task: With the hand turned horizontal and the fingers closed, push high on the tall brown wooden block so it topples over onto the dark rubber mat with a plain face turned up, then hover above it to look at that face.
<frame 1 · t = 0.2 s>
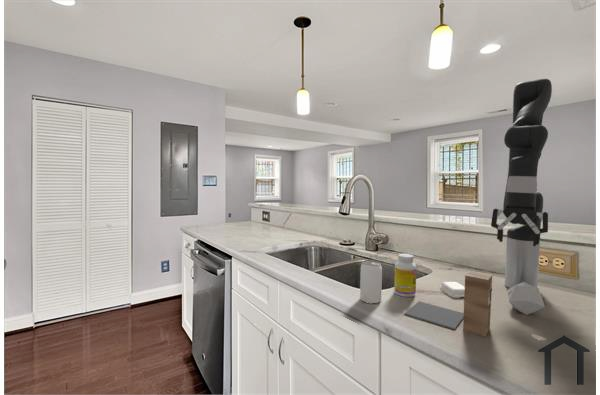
hand: (517, 243, 95), 18 cm above the worktop, tool pointing down, fingers open, 8 cm apart
die: (524, 311, 88), on the worktop
can: (370, 300, 96), on the worktop
supplement bottle: (404, 294, 101), on the worktop
brown wooden block: (476, 329, 78), on the worktop
mat: (435, 314, 86), on the worktop
soap: (454, 294, 102), on the worktop
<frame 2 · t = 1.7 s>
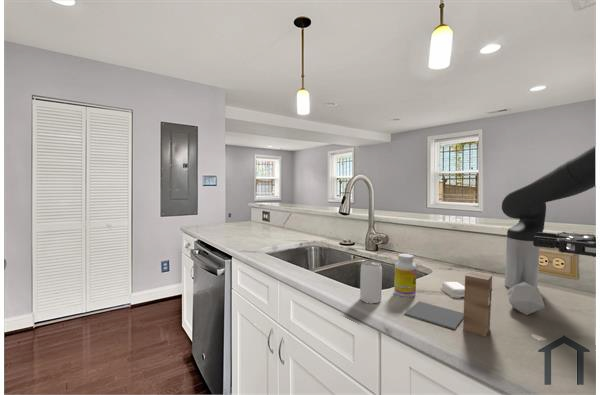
hand: (535, 238, 71), 24 cm above the worktop, tool horizontal, fingers open, 6 cm apart
nothing on the worktop moved.
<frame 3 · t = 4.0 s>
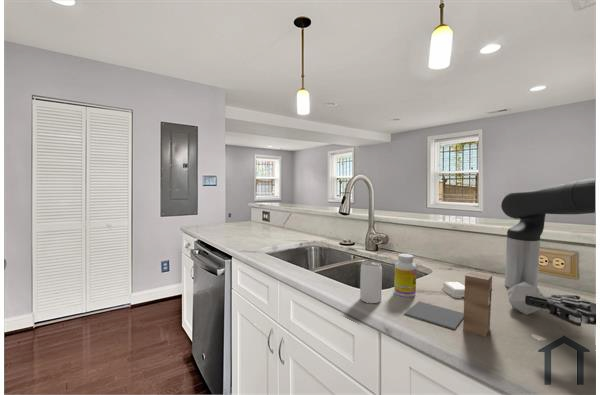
hand: (525, 298, 71), 10 cm above the worktop, tool horizontal, fingers closed
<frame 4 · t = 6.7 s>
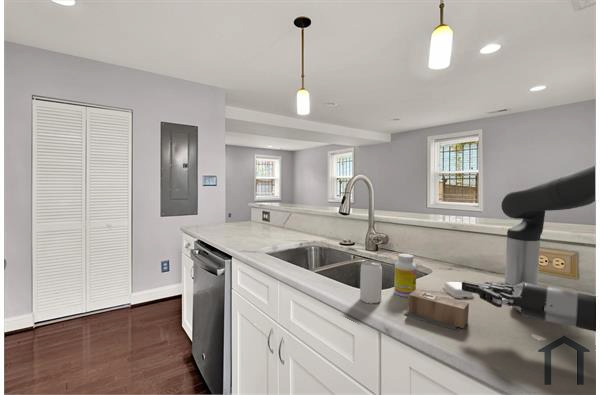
hand: (462, 285, 79), 10 cm above the worktop, tool horizontal, fingers closed
brown wooden block: (466, 315, 79), point 3 cm above the worktop, tilted 90°, touching mat
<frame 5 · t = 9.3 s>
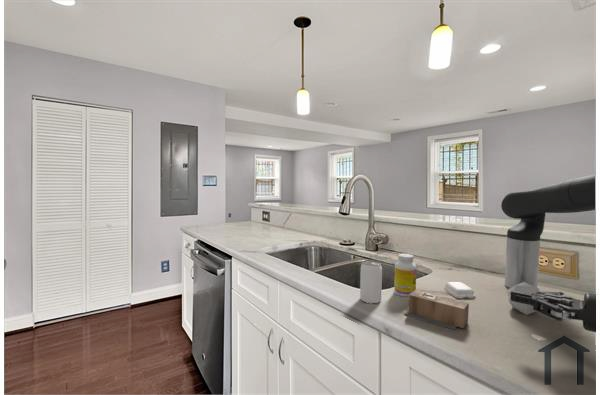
hand: (511, 295, 72), 11 cm above the worktop, tool horizontal, fingers closed
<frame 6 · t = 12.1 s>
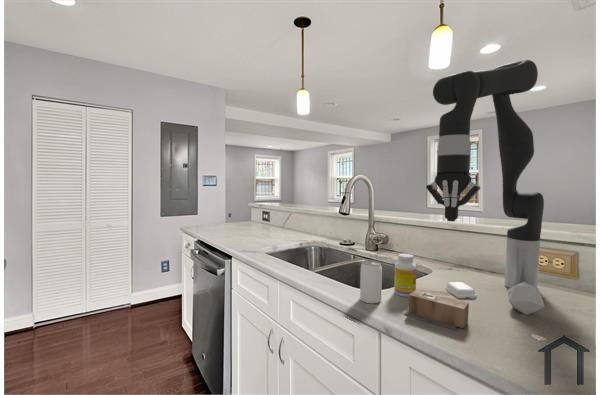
hand: (451, 220, 80), 27 cm above the worktop, tool pointing down, fingers closed
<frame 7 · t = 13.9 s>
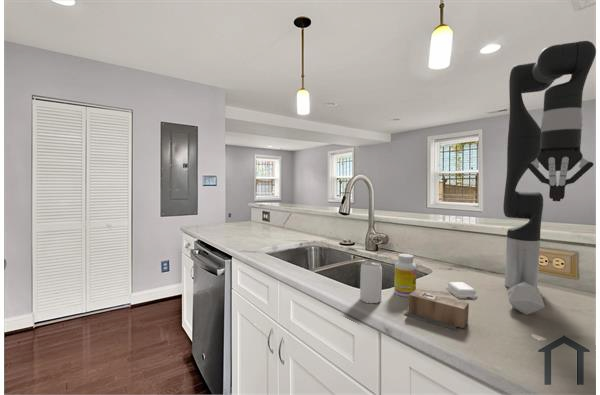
hand: (556, 200, 76), 33 cm above the worktop, tool pointing down, fingers closed
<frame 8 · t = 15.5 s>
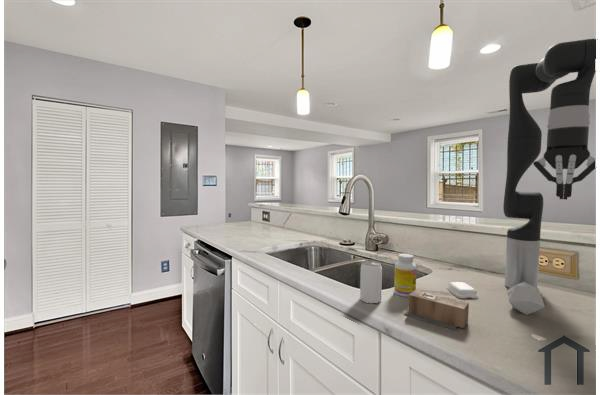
hand: (563, 199, 75), 33 cm above the worktop, tool pointing down, fingers closed
at the end: brown wooden block tilted 90°; brown wooden block inside the target area (4.5 cm from its centre), point 2.9 cm above the worktop; the gripper is holding nothing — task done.
